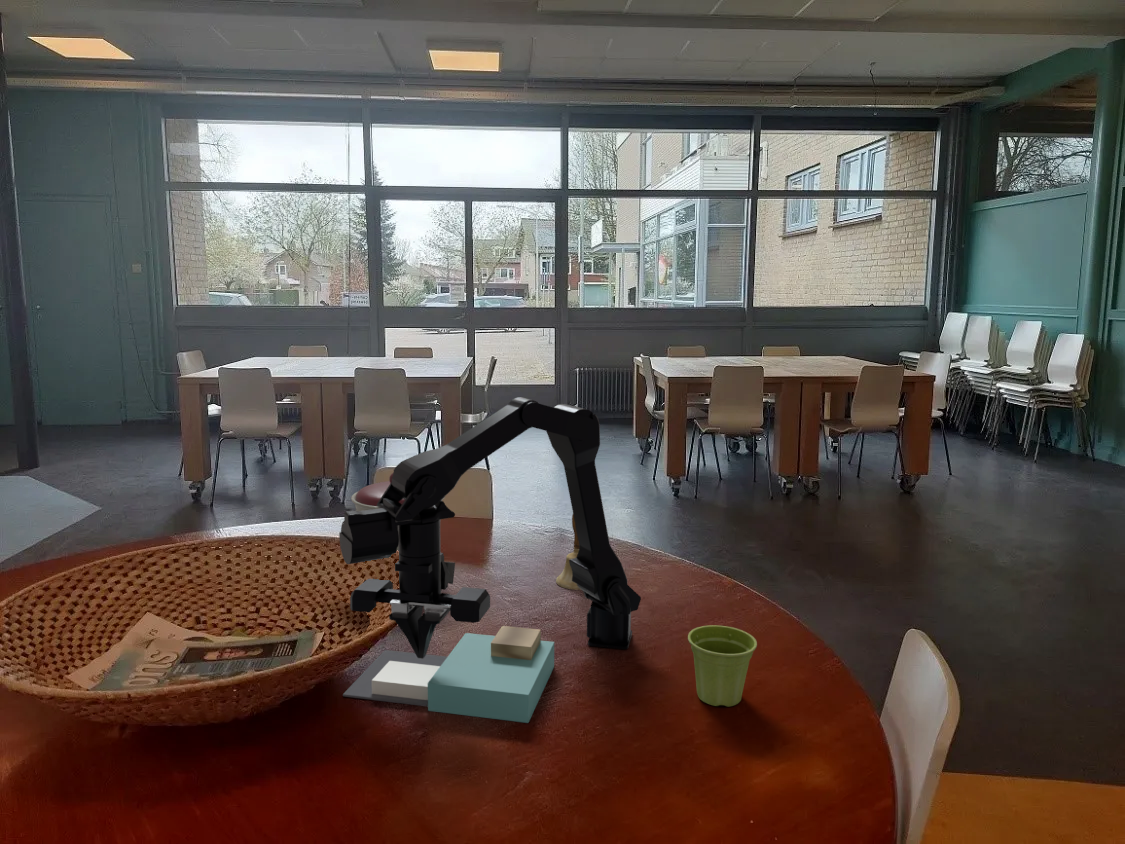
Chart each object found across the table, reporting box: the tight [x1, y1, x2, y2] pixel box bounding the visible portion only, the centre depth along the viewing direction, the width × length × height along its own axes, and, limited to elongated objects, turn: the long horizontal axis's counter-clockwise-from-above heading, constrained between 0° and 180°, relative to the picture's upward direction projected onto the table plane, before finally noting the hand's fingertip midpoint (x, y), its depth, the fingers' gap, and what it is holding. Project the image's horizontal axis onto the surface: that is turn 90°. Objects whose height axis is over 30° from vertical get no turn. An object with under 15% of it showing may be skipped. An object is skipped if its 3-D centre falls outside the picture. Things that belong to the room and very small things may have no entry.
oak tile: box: [491, 625, 542, 660], centre depth 115 cm, size 6×6×2 cm
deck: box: [427, 632, 555, 724], centre depth 112 cm, size 14×16×4 cm
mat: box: [342, 649, 448, 707], centre depth 115 cm, size 13×14×1 cm
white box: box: [372, 661, 440, 700], centre depth 112 cm, size 9×6×2 cm, turn 78°
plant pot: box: [687, 624, 758, 707], centre depth 110 cm, size 9×9×9 cm
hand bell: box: [555, 514, 582, 591], centre depth 152 cm, size 8×8×16 cm
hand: (421, 657), depth 110 cm, fingers closed
